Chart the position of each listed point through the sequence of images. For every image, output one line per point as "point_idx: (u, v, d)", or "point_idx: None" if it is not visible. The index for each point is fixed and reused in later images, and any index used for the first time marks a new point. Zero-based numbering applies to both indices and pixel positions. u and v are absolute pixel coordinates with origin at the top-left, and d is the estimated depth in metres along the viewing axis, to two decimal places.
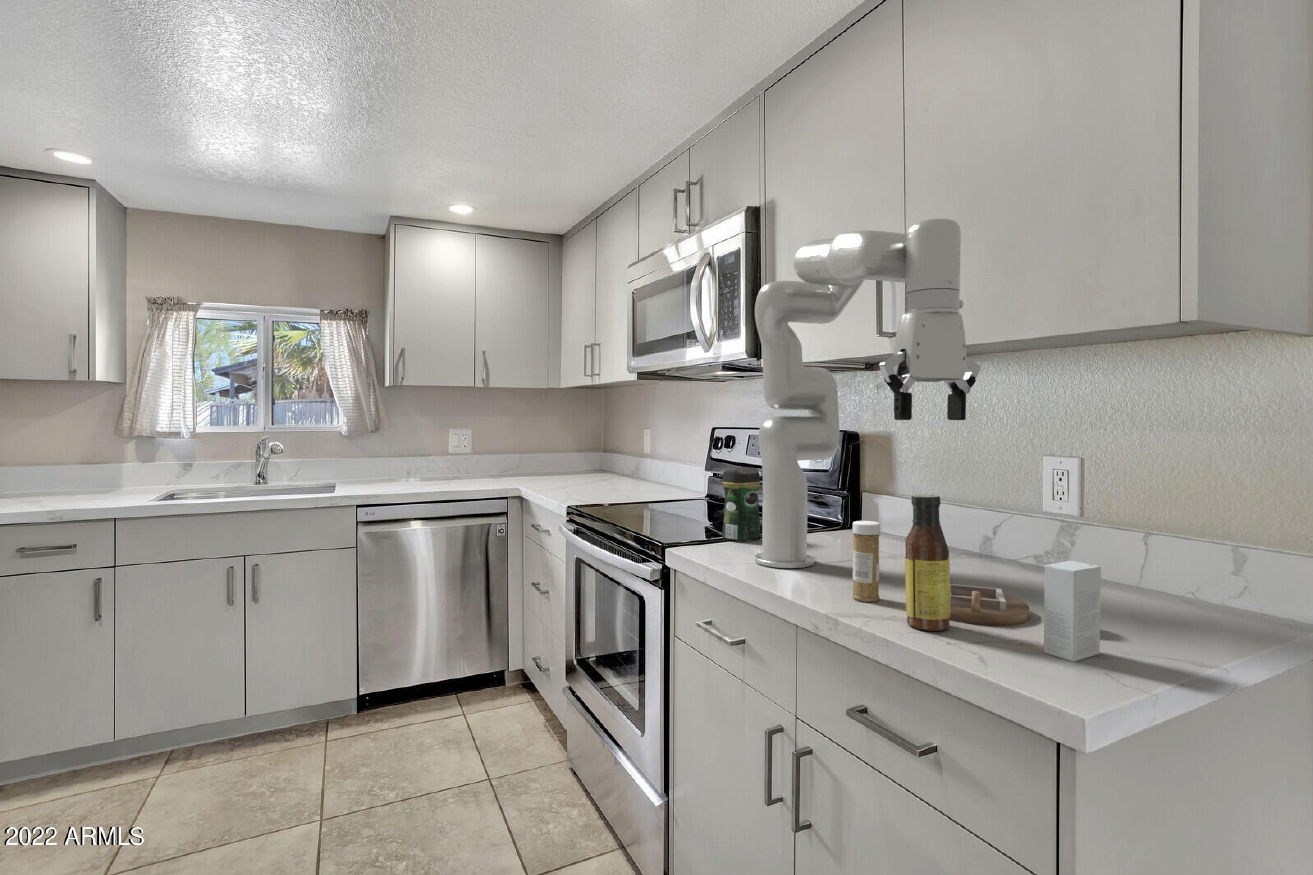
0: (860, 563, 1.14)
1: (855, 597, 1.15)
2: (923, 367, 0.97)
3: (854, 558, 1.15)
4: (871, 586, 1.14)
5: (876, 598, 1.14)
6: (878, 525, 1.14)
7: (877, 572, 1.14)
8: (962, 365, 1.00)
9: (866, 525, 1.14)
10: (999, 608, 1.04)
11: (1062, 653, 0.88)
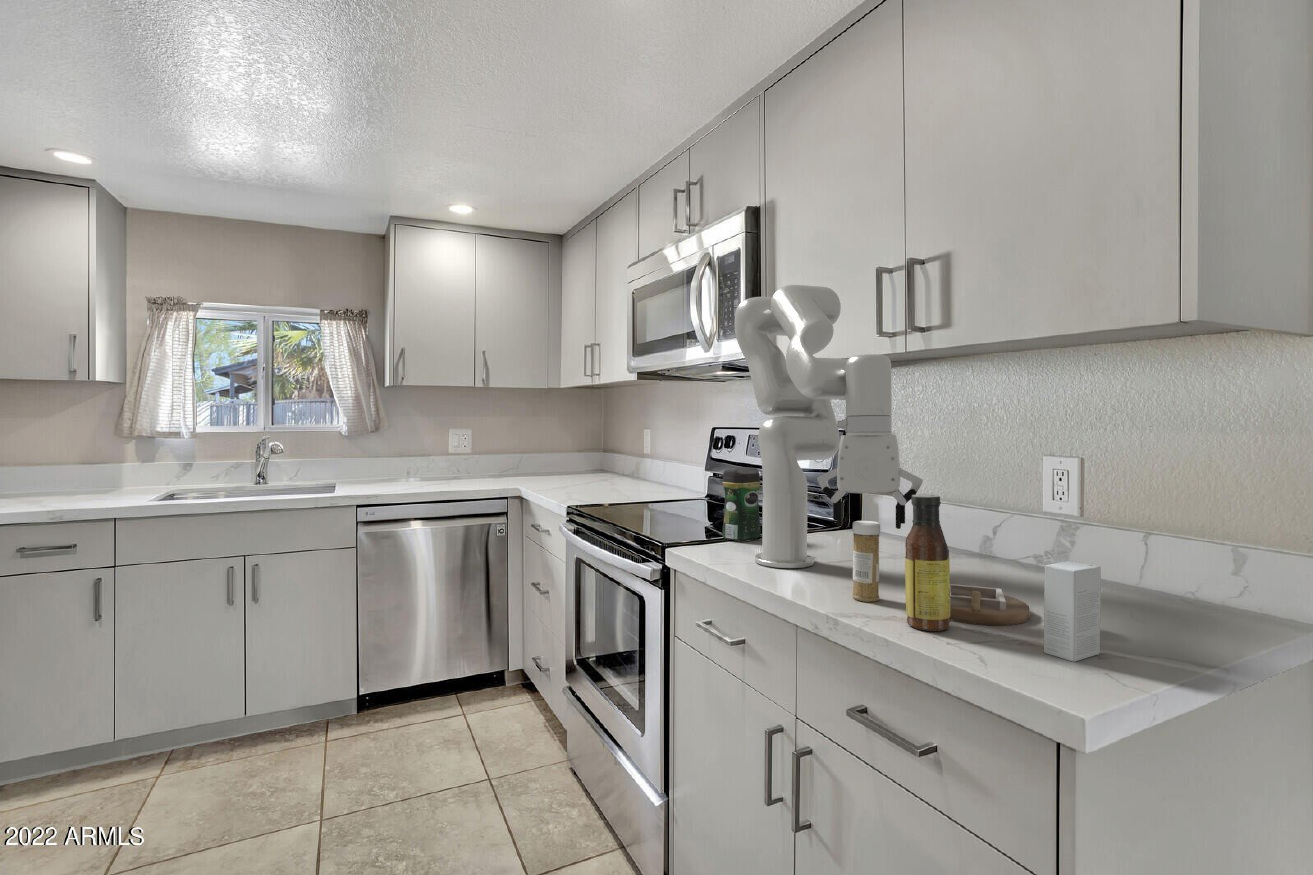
0: (860, 563, 1.14)
1: (855, 597, 1.15)
2: None
3: (854, 558, 1.15)
4: (871, 586, 1.14)
5: (876, 598, 1.14)
6: (878, 525, 1.14)
7: (877, 572, 1.14)
8: None
9: (866, 525, 1.14)
10: (999, 608, 1.04)
11: (1062, 653, 0.88)
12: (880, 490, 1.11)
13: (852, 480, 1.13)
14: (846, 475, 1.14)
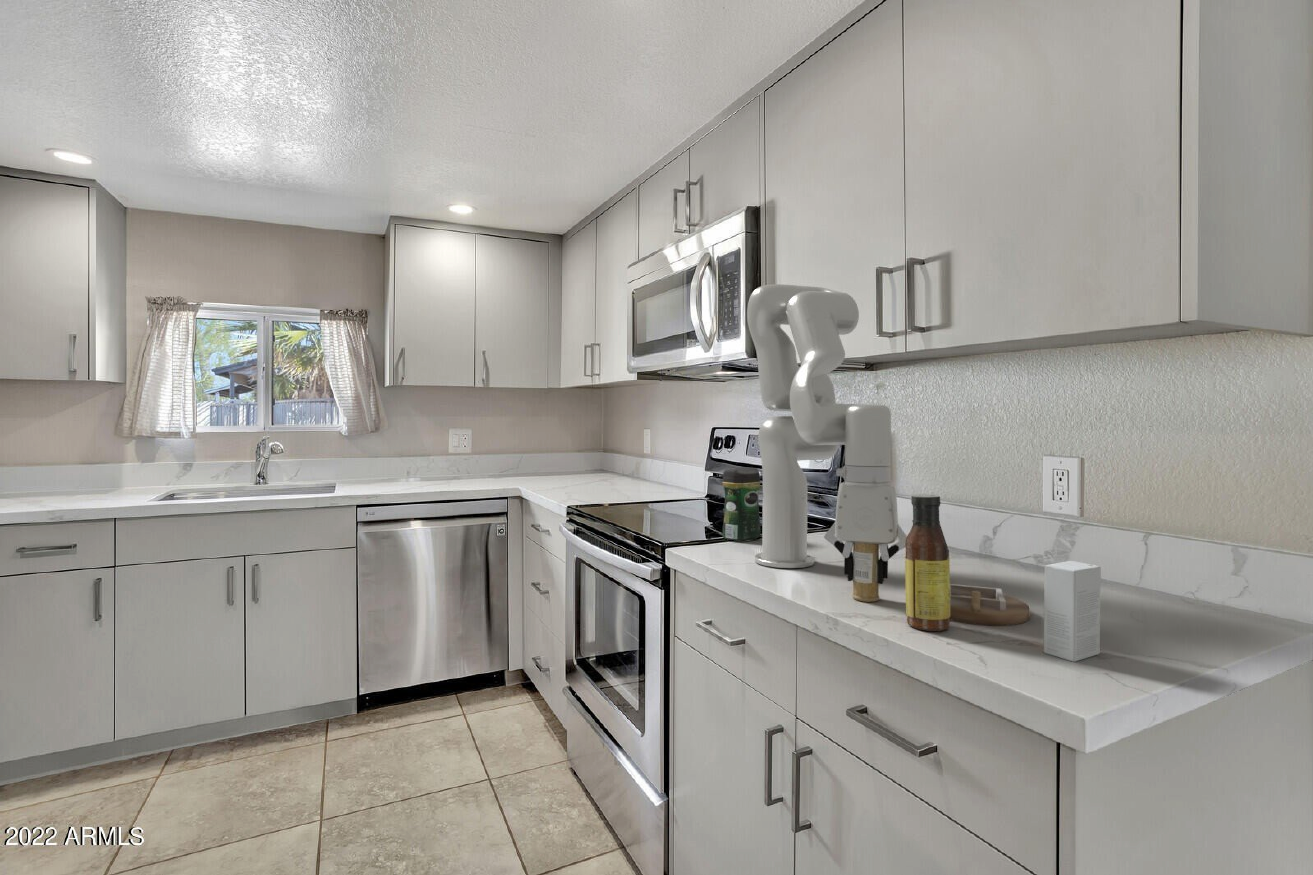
0: (860, 563, 1.14)
1: (855, 597, 1.15)
2: None
3: (854, 558, 1.15)
4: (871, 586, 1.14)
5: (876, 598, 1.14)
6: None
7: (877, 572, 1.14)
8: None
9: None
10: (999, 608, 1.04)
11: (1062, 653, 0.88)
12: (878, 540, 1.12)
13: (850, 529, 1.14)
14: (844, 524, 1.14)
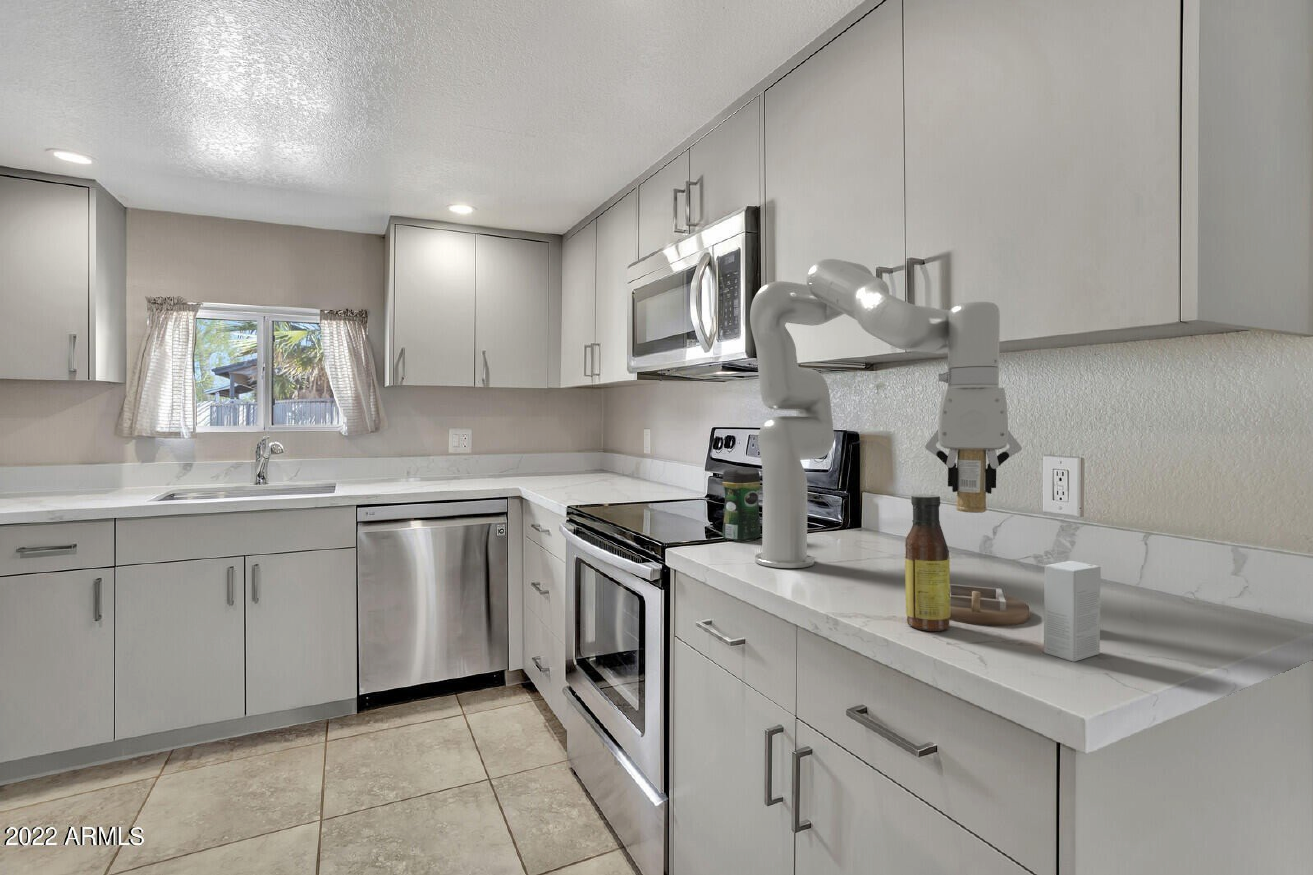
0: (967, 472, 1.07)
1: (961, 508, 1.08)
2: None
3: (959, 467, 1.08)
4: (979, 496, 1.07)
5: (984, 509, 1.07)
6: None
7: (985, 481, 1.07)
8: None
9: None
10: (999, 608, 1.04)
11: (1062, 653, 0.88)
12: (987, 446, 1.05)
13: (956, 435, 1.07)
14: (949, 430, 1.08)
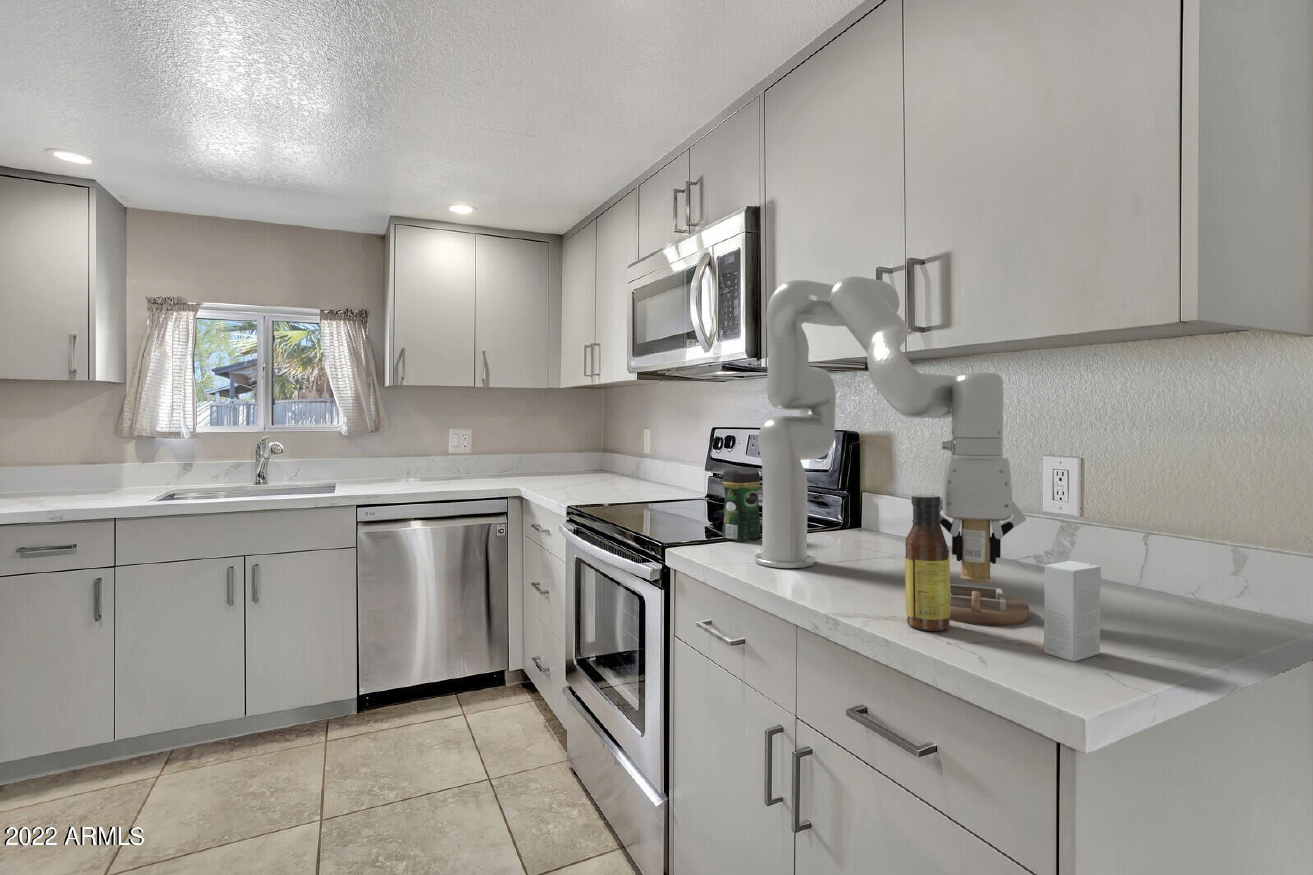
0: (971, 542, 1.07)
1: (965, 578, 1.08)
2: None
3: (963, 536, 1.08)
4: (983, 566, 1.07)
5: (988, 578, 1.07)
6: None
7: (989, 551, 1.07)
8: None
9: None
10: (999, 608, 1.04)
11: (1062, 653, 0.88)
12: (992, 517, 1.05)
13: (960, 505, 1.07)
14: (954, 500, 1.08)
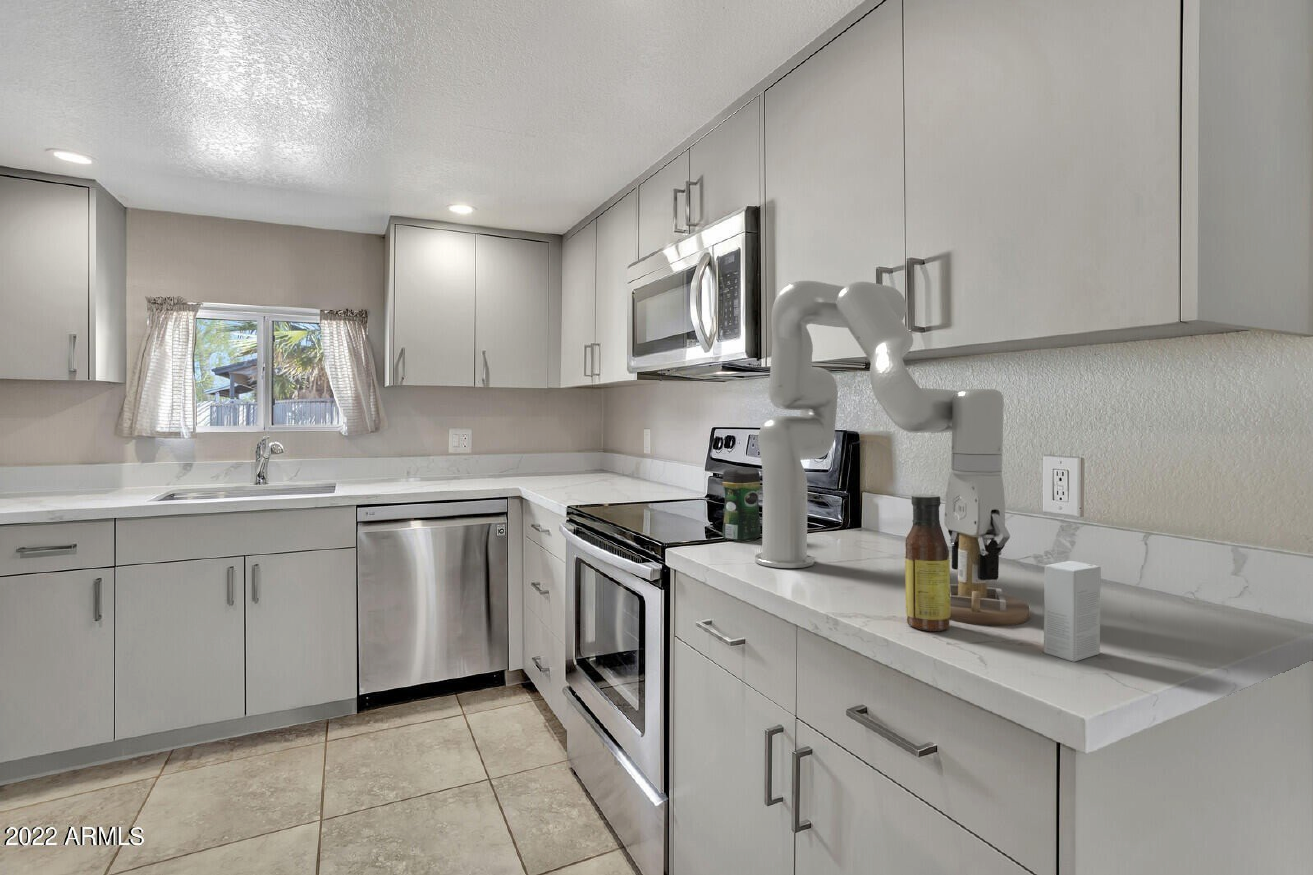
0: (958, 560, 1.10)
1: (957, 595, 1.11)
2: None
3: None
4: (966, 586, 1.08)
5: None
6: None
7: (974, 573, 1.07)
8: None
9: None
10: (999, 608, 1.04)
11: (1062, 653, 0.88)
12: (966, 532, 1.07)
13: (951, 518, 1.11)
14: (948, 512, 1.12)
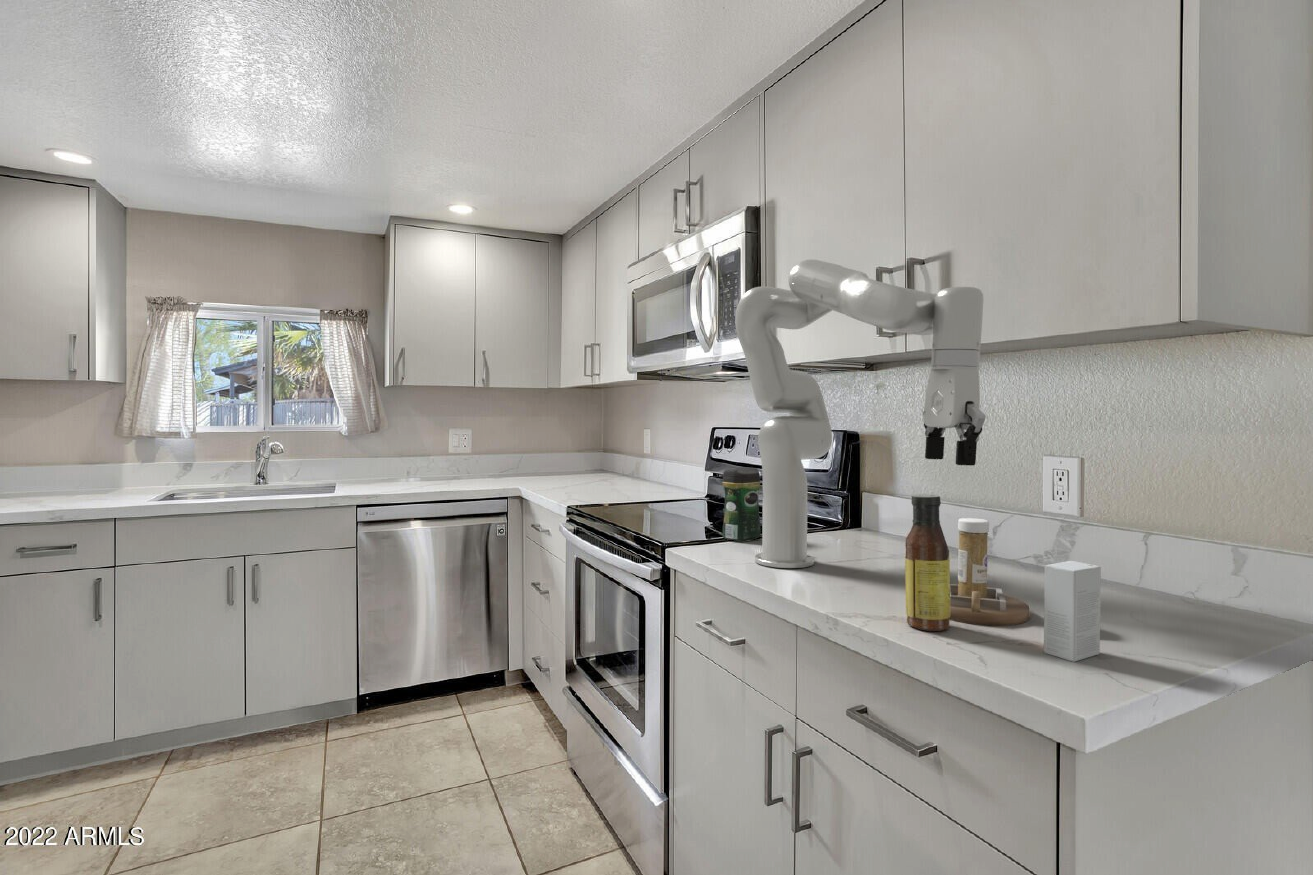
0: (958, 560, 1.10)
1: (957, 595, 1.11)
2: None
3: None
4: (966, 586, 1.08)
5: None
6: (976, 523, 1.07)
7: (974, 573, 1.07)
8: None
9: (962, 521, 1.09)
10: (999, 608, 1.04)
11: (1062, 653, 0.88)
12: (942, 424, 1.12)
13: (929, 414, 1.16)
14: (926, 409, 1.17)
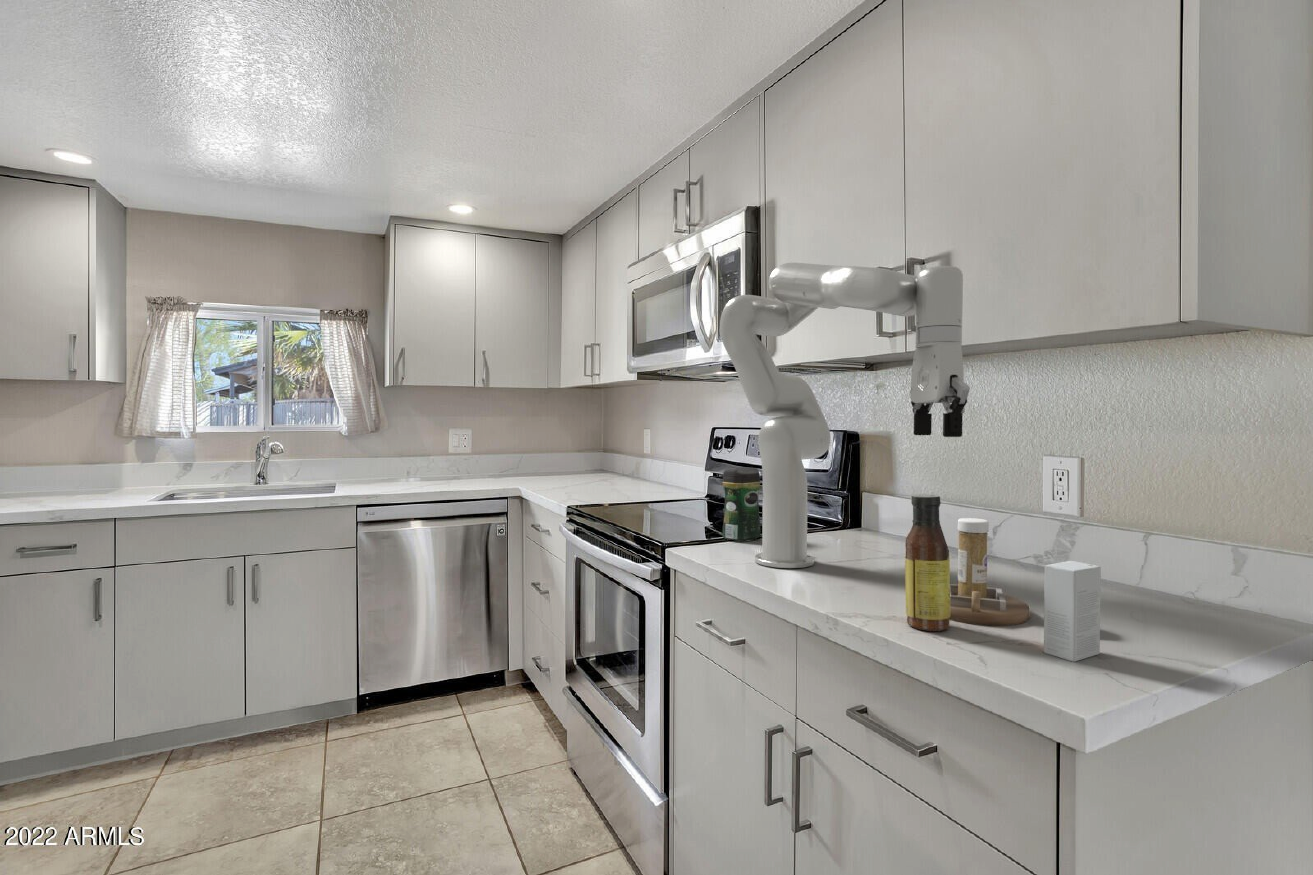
0: (958, 560, 1.10)
1: (957, 595, 1.11)
2: None
3: None
4: (966, 586, 1.08)
5: None
6: (976, 523, 1.07)
7: (974, 573, 1.07)
8: None
9: (961, 521, 1.09)
10: (999, 608, 1.04)
11: (1062, 653, 0.88)
12: (929, 398, 1.16)
13: (915, 390, 1.20)
14: (913, 386, 1.21)
